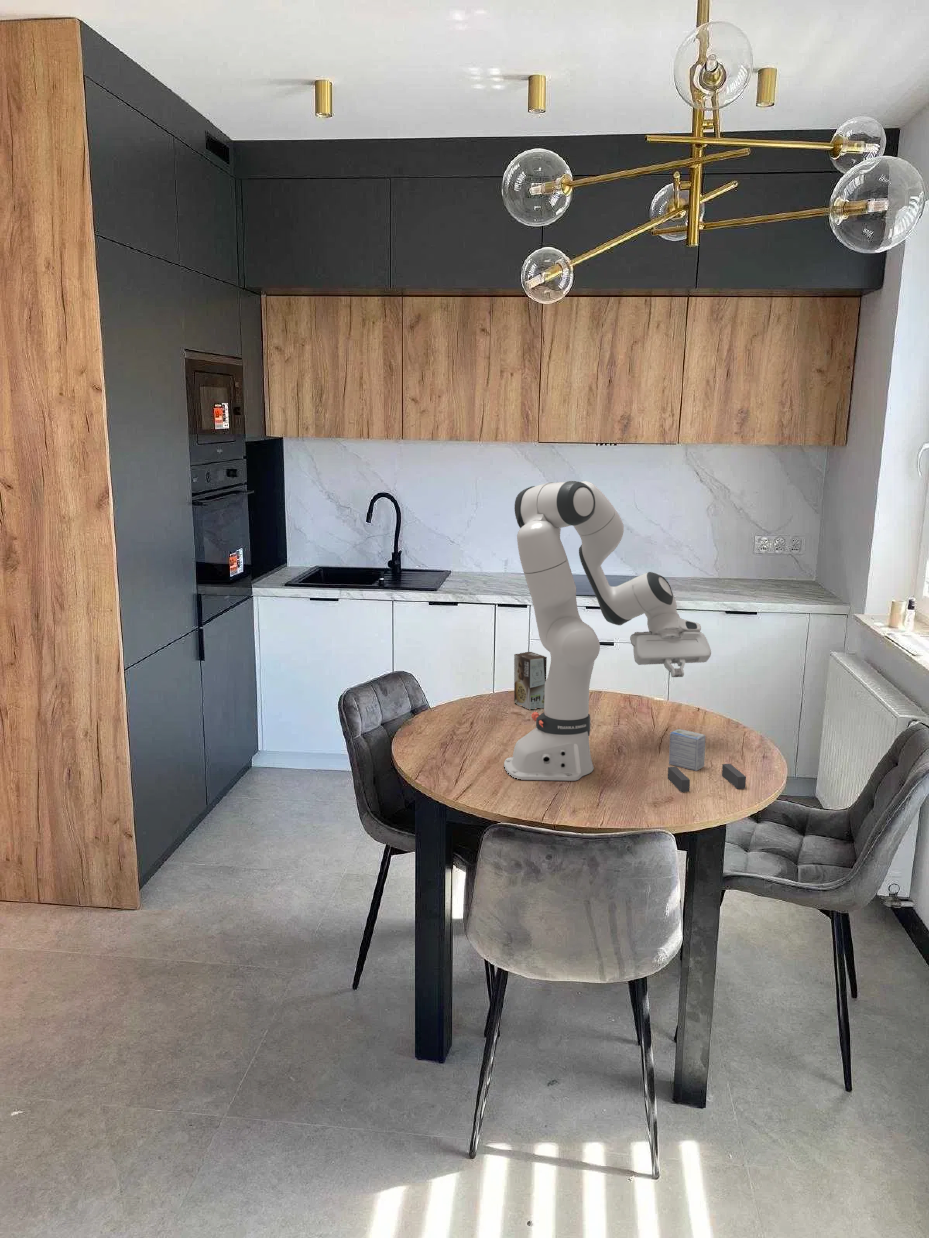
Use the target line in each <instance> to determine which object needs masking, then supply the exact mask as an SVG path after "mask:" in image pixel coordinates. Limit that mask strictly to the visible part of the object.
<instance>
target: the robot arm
mask: <svg viewBox="0 0 929 1238" xmlns="http://www.w3.org/2000/svg"><path fill="white" fill-rule="evenodd" d="M514 515H515V519H516V522H517V525H518V527H519V529H518V531H517V535H516V539H517V540H516V541H517V548H518V554H519V559H520V565H521V567H522V571H523V575H524V578H525V581H526V583H527V587H528V591H529V594H530V596H531V597H530V598H531V600H532V605H533V609H534V615H535V621H536V626H537V627H536V628H537V631H538V637H539V639H540V642H541V644H542V646H543V647H544V649H546V650H547V652H549V653H550V665H549V670H548V674H547V677H546V681H545V697H544V708H543V710H544V711H543V712H542V713H541V714H539V713H538V712H537V711H533V712H532V713H531V715H530V716H531V718H532V720H533V721H534V722H535V727H534V728H533V729H532V730H530V732H528V733H527V734H525V735H524V736H522V737H521V738H519V739H518V740H517V741H516V743H515V744H514V747H513V753H512V756H510V757H509V756H508V757H507V758H506V759H505V760H504V763H503V768H504V767H505V769H504V771H505V770H506V771H507V772H506V771H505V772H506V774H508V773H509V774H508V775H509V776H510V775H511V776H512V777H511V776H510V777H511V778H513V777H514V778H513V779H515V778H517V779H516V780H518V779H521V781H522V780H524V781H566V782H567V781H571V782H572V781H574V782H575V781H578V780H580V779H581V778H582V777H584V776H586V775H589V774H590V773H592V772H593V770H594V765H593V764H594V763H593V761H592V756H591V751H590V738H589V737H590V732H591V715H590V713H589V709H590V708H589V705H590V704H589V703H590V702H589V701H590V684H591V680H592V679H591V678H592V673H593V669H594V665H595V662H596V659H597V658H598V657H599V654H600V651H601V644H600V640H599V638H598V636H597V633H596V632H595V630H594V629H593V627H591V626H590V625H589V624H587V623H586V622H584V621H583V620H582V618H581V616H580V613H579V610H578V604H577V603H578V602H577V601H578V600H577V586H576V583H575V579H574V576H573V573H572V570H571V566H570V563H569V560H568V556H567V553H566V550H565V547H564V545H563V543H562V541H561V531H562V528H567V527H570V526H573V528H574V530H575V531H576V533H577V534H578V535H579V538H580V540H581V545H580V546H579V548H578V556H579V561H580V563H581V565H582V569H583V570H584V571H583V572H584V573H585V575H586V577H587V580H588V582H589V584H590V587H591V588H592V591H593V593H594V595H595V597H596V600H597V603H598V606H599V608H600V609H599V610H600V612H601V614H602V616H603V617H604V619H605V620H606V622H608V623H610V624H612V625H616V626H622V625H624V624H626V623H627V622H629V621H631V620H632V619H635V618H637V617H640V616H641V615H645V617H646V618H647V625H646V626H647V628H648V631H643V632H642V631H636V632H634V633H632V634H631V635H630V637H629V639H630V640H629V641H630V644H631V646H632V647H633V649H632V650H633V660H634V662H635V663H636V664H637V665H638V666H643V665H644V666H646V665H664V668H665V669H666V671H668V672H669V673H670V676H671V678H683V677H684V675H685V672H684V667H685V665H686V664H695V663H696V664H698V663H707V662H708V660H709V659H710V658H711V656H712V649H711V647H710V644H709V641H708V639H707V637H706V635H705V634H704V633H702V632H701V630H702V626H701V624H700V623H698V622H694V621H691V620H688V619H684V618H682V617H681V616H680V614H679V613H678V610H677V609H678V608H677V607H678V606H677V602H676V598H675V595H674V593H673V590H672V587H671V585H670V583H669V582H668V580H667V578H665V577H664V576H663V575H660V574H658V573H655V572H652V571H648V572H646V573H642V574H640V575H637V576H635V577H633V578H632V579H630V580H627V581H625V582H623V583H621V584H618V585H615V586H613V585H612V586H611V585H610V584H609V581H608V579H607V577H606V575H605V572H604V570H603V568H602V564H603V563H604V561H605V560H606V559H607V558H608V557H609V556H611V554H612V553H613V552H614V551H615V550H616V549H617V548H618V546H619V545H620V543H621V542H622V539H623V536H624V531H625V530H624V522H623V520H622V517H621V516H620V515H619V513H618V511H617V509H616V508H615V507H614V505H613V503H611V501H610V500H609V499H608V497H607V496H606V495H605V494H604V493H603V491H601V489H599V488H598V487H597V486H596V484H594V483H592V482H590V481H585V480H584V481H583V480H582V481H577V480H568V481H560V482H559V481H557V482H546V483H542V484H538V485H536V486H535V485H532V486H528V487H526V488H524V489H523V490H521V491H520V492H519V493H518V494H517V496H516V497H515V499H514ZM673 664H677V667H679V668H675V667H674V666H673Z"/></svg>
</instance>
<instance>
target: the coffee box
mask: <svg viewBox="0 0 929 1238" xmlns="http://www.w3.org/2000/svg"><path fill="white" fill-rule="evenodd" d="M513 655H514V656H513V658H514V659H513V662H514V663H513V665H514V666H513V668H514V669H513V670H514V672H513V675H514V677H513V679H514V681H513V683H514V684H513V685H514V686H513V688H514V690H513V691H514V692H513V694H514V695H513V696H514V697H513V698H514V699H513V703H514V702H515V703H516V704H518V705H517V706H519V705H522V706H523V707H525V708H524V709H526V708H528V709H535V708H541V709H544V697H545V681H546V680H547V666H548V665H547V662H548V660H547V656H545V655H542V654H538V653H536V652H533V651H526V652H520V653H515V654H513ZM516 704H515V705H516ZM523 707H522V708H523ZM528 709H527V710H528ZM535 710H536V709H535Z"/></svg>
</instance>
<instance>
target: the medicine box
mask: <svg viewBox="0 0 929 1238" xmlns="http://www.w3.org/2000/svg"><path fill="white" fill-rule="evenodd" d="M668 750H669V752H668V753H669V755H668V765H671V766H674V767H679V768H684V769H687V770H692V771H696V772H697V771H699V770H700V769H702V768H704V767H705V759H706V757H705V753H706V734H702V733H699V732H696V731H691V730H685V729H680V728H678V729H675V730H673V731H671V732H670V733H669V749H668Z"/></svg>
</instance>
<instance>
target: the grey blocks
mask: <svg viewBox="0 0 929 1238" xmlns="http://www.w3.org/2000/svg"><path fill="white" fill-rule="evenodd" d="M721 776H722V778H723V779H724V780H726V781H727V780H728V782H729V784H731V785H732V786H733V787H734V788H735V789H737V790H741V789H743V790H744V789H746V784H747V783H746V782H747V776H746V775H745V774H743V772H741V771H740V770H738V768H736V767H735V766H733V765H732V764H731V763H722V766H721ZM667 779H668V781H669V782H670V783H672V785H673V786H674V787H676V789H677V790H678V791H679V792H680V793H688V792H690V784H691V779H689V778H688V776H686V774H684V772H682V771H681V770H680V769H679V768H678V766H668V767H667Z"/></svg>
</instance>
